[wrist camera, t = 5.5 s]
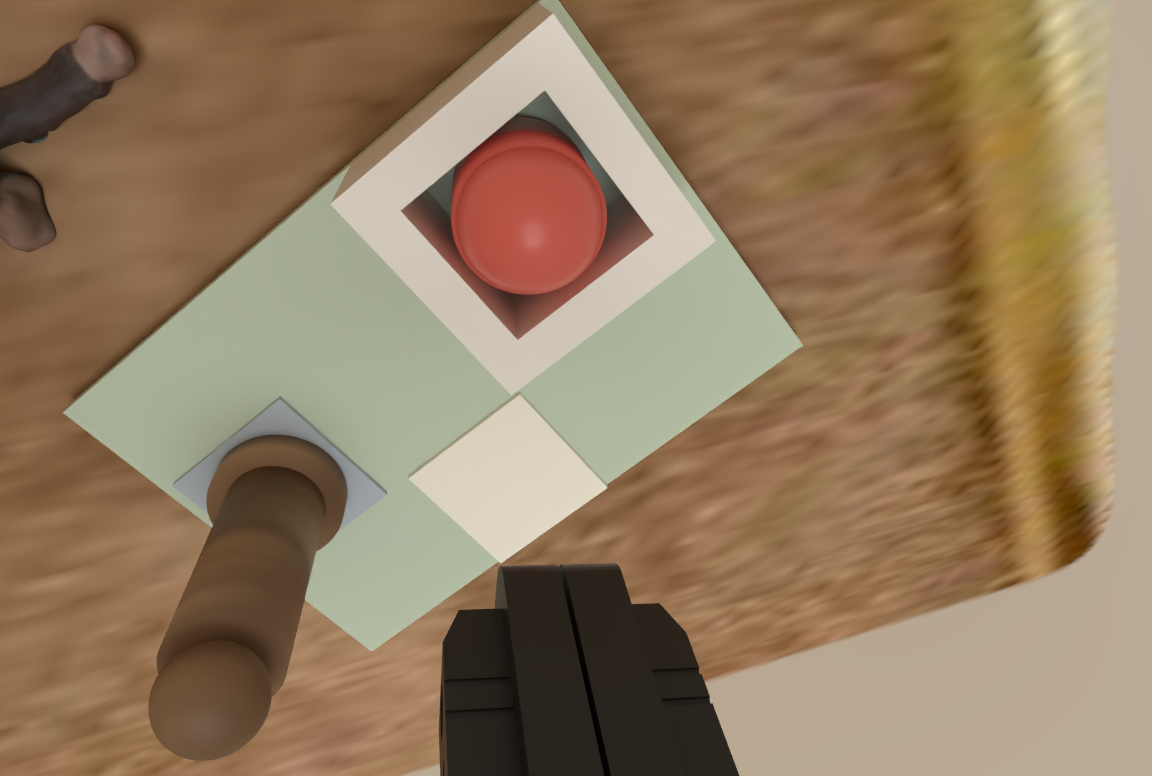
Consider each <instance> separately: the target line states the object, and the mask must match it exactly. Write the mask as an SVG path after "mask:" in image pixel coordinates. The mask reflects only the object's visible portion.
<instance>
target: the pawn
mask: <svg viewBox="0 0 1152 776" xmlns="http://www.w3.org/2000/svg"><path fill="white" fill-rule="evenodd" d="M347 494H348V491H347V483H346V479H345V476H344V474H343V472H342V470H341V468H340V466H339V465H338V464H337V462H336V461H335V460H334V459H333V458H332V457H331V456H330V455H329V454H328V453H327V452H326V451H324V450H323V449H322V448H320V447H319V446H317V445H315V444H313V443H311V442H309V441H307V440H304V439H301V438H298V437H293V436H288V435H265V436H259V437H255V438H252V439H249V440H246V441H244V442H242V443H240V444H239V445H237V446H236V447H234V448H233V449H232V450H230V451H229V452H228V453H227V454H226V455H225V457H224V458H223V459H222V460H221V462H220V464H219V466H218V468H217V470H216V472H215V474H214V476H213V478H212V480H211V483H210V485H209V488H208V491H207V497H206V505H207V512H208V515H209V518H210V520H211V522H212V524H213V527H212V529H211V531H210V533H209V536H208V538H207V540H206V543H205V545H204V547H203V550H202V552H201V554H200V556H199V559H198V561H197V563H196V566H195V568H194V570H193V573H192V575H191V577H190V579H189V582H188V584H187V586H186V589H185V591H184V593H183V596H182V598H181V600H180V602H179V605H178V607H177V609H176V612H175V614H174V616H173V619H172V621H171V623H170V625H169V628H168V630H167V632H166V635H165V637H164V639H163V642H162V644H161V646H160V649H159V651H158V655H157V669H158V673H159V675H158V676H157V678H156V680H155V682H154V684H153V687H152V690H151V693H150V698H149V718H150V723H151V726H152V729H153V731H154V733H155V735H156V737H157V738H158V740H159V741H160V742H161V743H162V744H163V745H164V746H165V747H166V748H167V749H168V750H169V751H171V752H172V753H174V754H176V755H178V756H181V757H183V758H186V759H190V760H198V761H204V760H214V759H218V758H222V757H225V756H227V755H230V754H232V753H234V752H235V751H237V750H239V749H240V748H242V747H243V746H244V745H246V744H247V743H248V742H249V741H250V740H251V739H252V738H253V737H254V736H255V735H256V734H257V732H258V731H259V730H260V728H261V727H262V725H263V723H264V721H265V719H266V717H267V715H268V712H269V709H270V704H271V698H272V696H273V695H274V694H275V693H276V692H277V691H278V690H279V689H280V687H281V686H282V684H283V682H284V680H285V677H286V673H287V669H288V665H289V661H290V657H291V653H292V649H293V645H294V641H295V637H296V632H297V628H298V624H299V620H300V616H301V612H302V608H303V604H304V600H305V595H306V591H307V587H308V583H309V579H310V575H311V571H312V567H313V563H314V559H315V554H316V551H318V550H320V549H321V548H323V547H324V546H325V545H327V544H328V543H329V542H330V541H331V540H332V539H333V538H334V536H335V535H336V534H337V532H338V530H339V528H340V526H341V524H342V520H343V517H344V512H345V507H346V502H347Z"/></svg>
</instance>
